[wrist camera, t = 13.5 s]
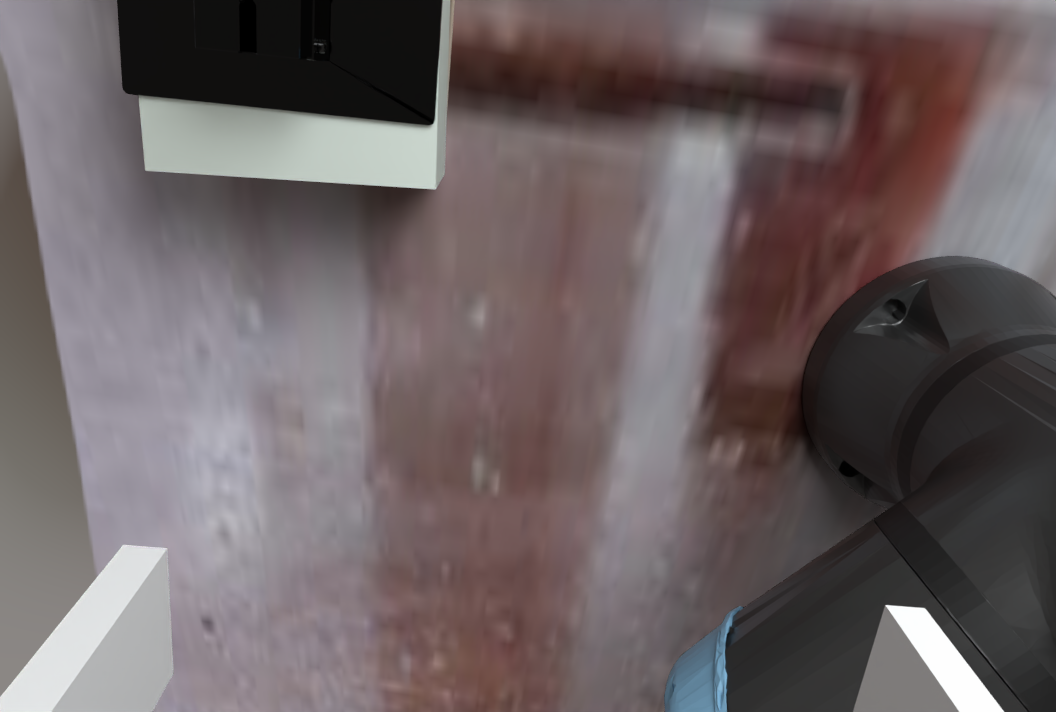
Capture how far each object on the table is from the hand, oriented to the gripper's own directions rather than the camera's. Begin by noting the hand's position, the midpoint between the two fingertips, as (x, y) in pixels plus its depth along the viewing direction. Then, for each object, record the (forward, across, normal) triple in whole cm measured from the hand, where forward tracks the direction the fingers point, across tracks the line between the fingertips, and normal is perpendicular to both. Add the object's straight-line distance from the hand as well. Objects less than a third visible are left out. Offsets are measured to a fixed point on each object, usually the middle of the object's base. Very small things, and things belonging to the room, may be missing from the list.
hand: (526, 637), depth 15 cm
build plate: (+22, +10, -11) cm, 27 cm away
